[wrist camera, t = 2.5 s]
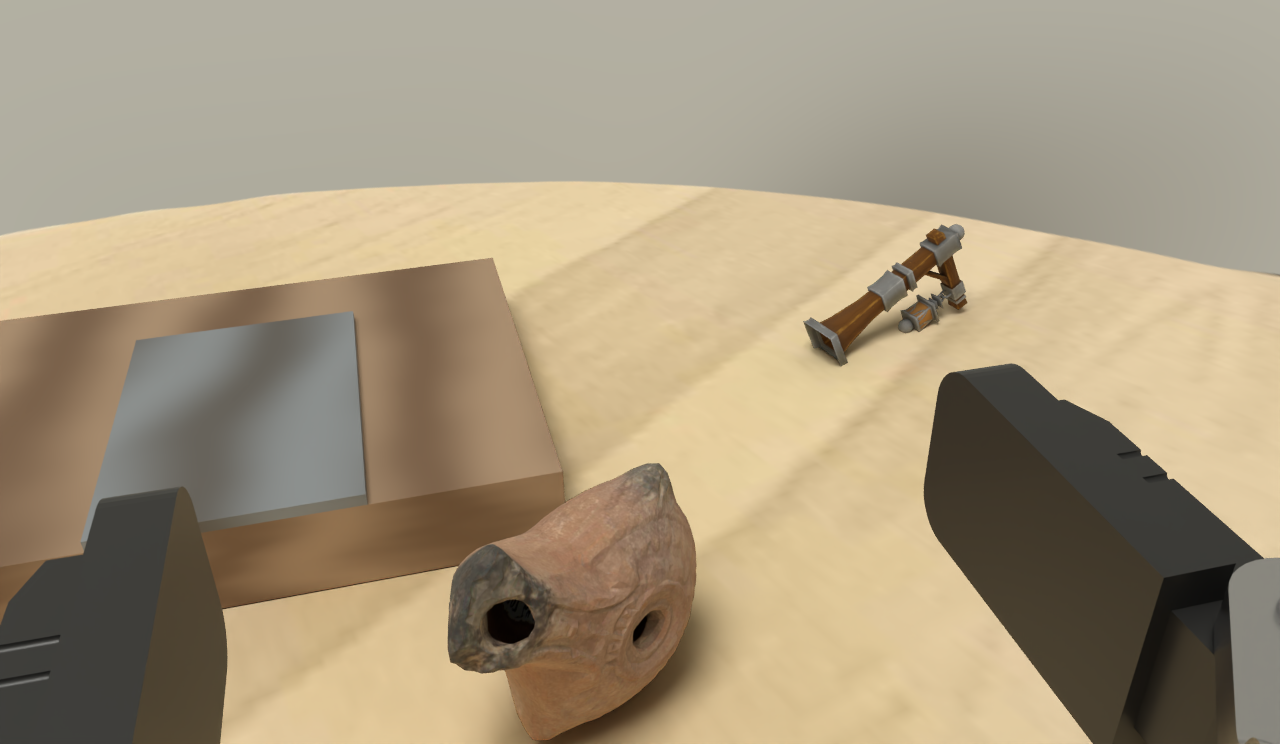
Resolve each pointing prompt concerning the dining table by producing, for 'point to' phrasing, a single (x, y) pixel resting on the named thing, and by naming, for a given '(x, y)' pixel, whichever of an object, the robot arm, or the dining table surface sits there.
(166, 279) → the dining table surface
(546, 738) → the oil lamp
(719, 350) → the dining table surface
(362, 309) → the wooden block
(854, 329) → the wooden blunderbuss cannon
